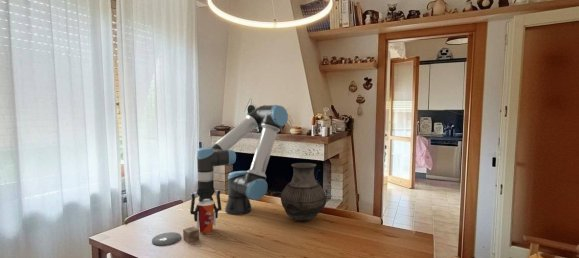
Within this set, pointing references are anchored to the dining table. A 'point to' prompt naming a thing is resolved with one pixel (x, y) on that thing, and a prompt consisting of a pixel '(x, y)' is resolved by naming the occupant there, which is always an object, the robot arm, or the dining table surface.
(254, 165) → the robot arm
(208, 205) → the coffee cup
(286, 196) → the vase
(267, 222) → the dining table surface
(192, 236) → the walnut cube
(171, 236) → the slate coaster
